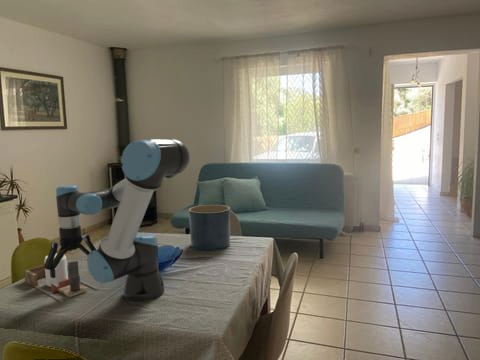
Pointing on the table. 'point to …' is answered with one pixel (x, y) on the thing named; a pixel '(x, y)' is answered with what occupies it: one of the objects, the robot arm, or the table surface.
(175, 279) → the table surface
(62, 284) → the rod slider
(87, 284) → the pitch lines
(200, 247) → the planter
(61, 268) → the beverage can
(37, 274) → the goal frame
